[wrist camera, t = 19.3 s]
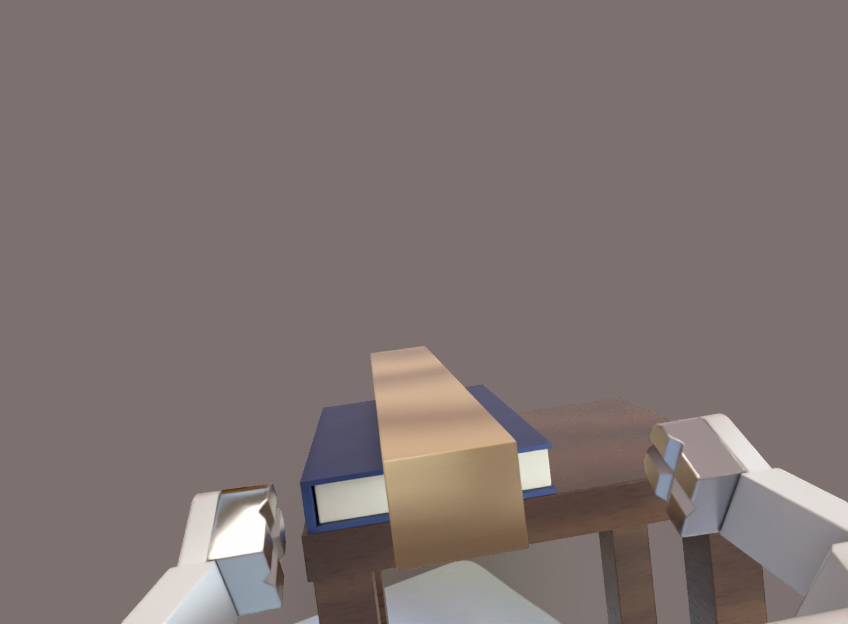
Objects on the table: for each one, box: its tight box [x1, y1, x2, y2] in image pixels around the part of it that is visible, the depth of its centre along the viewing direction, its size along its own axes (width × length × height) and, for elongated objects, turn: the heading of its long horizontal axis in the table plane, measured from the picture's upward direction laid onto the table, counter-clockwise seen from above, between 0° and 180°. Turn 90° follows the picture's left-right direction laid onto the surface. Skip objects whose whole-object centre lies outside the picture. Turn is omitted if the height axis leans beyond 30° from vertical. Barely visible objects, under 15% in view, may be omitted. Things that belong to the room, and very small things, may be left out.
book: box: [300, 385, 557, 534], centre depth 31 cm, size 14×10×2 cm
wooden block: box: [371, 346, 529, 571], centre depth 27 cm, size 23×4×3 cm, turn 6°
